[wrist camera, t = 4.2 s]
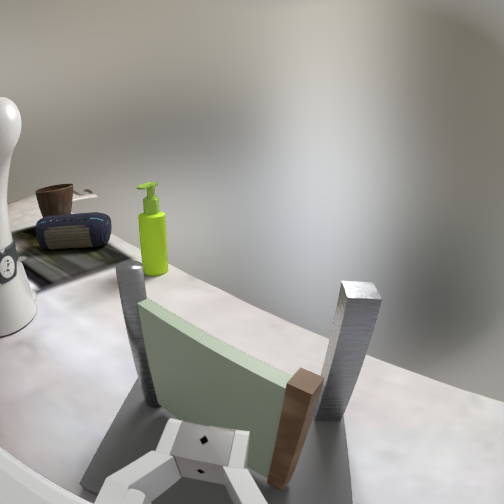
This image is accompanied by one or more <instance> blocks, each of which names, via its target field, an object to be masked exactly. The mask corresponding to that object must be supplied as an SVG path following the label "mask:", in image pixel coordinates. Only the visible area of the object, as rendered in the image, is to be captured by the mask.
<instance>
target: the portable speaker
mask: <svg viewBox="0 0 504 504" xmlns="http://www.w3.org/2000/svg"><path fill="white" fill-rule="evenodd" d="M110 235H111V220H110V217H109V216H108V215H106V214H103V213H98V212H94V213H82V214H81V213H80V214H68V215H56V216H47V217H44V218H42V219H40V220H39V221H38V222H37V224H36V237H37V241H38V243H39V245H40V246H41V247H42V248H44V249H67V248H87V247H100V246H103V245H105V244H106V243H107V242H108V241H109V238H110Z"/></svg>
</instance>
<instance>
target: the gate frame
mask: <svg viewBox="0 0 504 504" xmlns="http://www.w3.org/2000/svg"><path fill="white" fill-rule="evenodd" d="M116 273H117V280H118V286H119V292H120V298H121V304H122V309H123V314H124V319H125V324H126V329H127V333H128V338H129V342H130V347H131V351H132V355H133V359H134V363H135V367H136V371H137V374H138V379H137V380H136V382H135V384H134V386H133V387H132V389H131V391H130V393H129V394H128V396H127V398H126V400H125V401H124V403H123V405H122V407H121V408H120V410H119V412H118V414H117V415H116V417H115V419H114V421H113V423H112V424H111V426H110V428H109V430H108V432H107V433H106V435H105V437H104V439H103V441H102V442H101V444H100V446H99V448H98V450H97V452H96V454H95V455H94V457H93V459H92V461H91V463H90V465H89V467H88V468H87V470H86V472H85V474H84V476H83V478H82V480H81V482H80V485H81V486H82V487H83V488H84V489H85V490H87V491H90V492H92V493H94V494H96V495H98V494H99V492H100V490H101V488H102V486H103V484H104V482H105V480H106V478H107V477H109V476H110V475H112V474H114V473H115V472H117V471H119V470H121V469H122V468H124V467H126V466H127V465H129V464H131V463H132V462H134V461H136V460H137V459H139V458H140V457H142V456H144V455H145V454H147V453H148V452H150V451H156V448H157V446H158V443H159V441H160V439H161V436H162V434H163V431H164V429H165V426H166V424H167V422H168V420H169V419H170V418H172V419H177V418H176V417H175V416H173V415H172V414H171V413H169V412H168V411H167V410H166V409H165V408H163V407H162V406H161V405H160V404H159V403H158V400H157V396H156V392H155V388H154V384H153V380H152V376H151V372H150V367H149V363H148V358H147V353H146V349H145V344H144V339H143V333H142V328H141V322H140V317H139V311H138V305H137V303H139V302H141V301H143V300H146V299H147V297H146V289H145V281H144V273H143V264H142V263H141V262H138V261H126V262H122V263H120V264H118V265H117V266H116ZM381 301H382V298H381V296H380V295H379V293H378V291H377V289H376V287H375V285H374V284H373V283H367V282H352V281H342V282H341V287H340V293H339V298H338V303H337V308H336V313H335V318H334V323H333V327H332V331H331V336H330V340H329V344H328V349H327V353H326V357H325V361H324V365H323V369H322V373H321V376H322V377H324V382H323V386H322V389H321V393H320V396H319V399H318V403H317V406H316V409H315V412H314V416H313V419H312V422H311V425H310V428H309V431H308V434H307V437H306V440H305V443H304V446H303V449H302V451H301V454H300V457H299V460H298V463H297V465H296V468H295V471H294V473H293V476H292V478H291V480H290V481H289V483H288V484H287V485H286V486H285V488H284V489H283V490H282V491H280V490H278V489H276V488H274V487H272V486H270V485H269V484H267V478H266V477H264V476H262V475H260V474H258V473H257V472H255V471H253V470H252V469H250V468H248V467H247V466H246V469H248V470H249V472H250V474H251V476H252V478H253V479H254V481H255V483H256V485H257V486H258V488H259V490H260V491H261V493H262V495H263V497H264V498H265V500H266V501H267V503H268V504H352V490H351V479H350V468H349V459H348V449H347V441H346V432H345V425H344V417H343V414H344V412H345V409H346V407H347V405H348V402H349V400H350V397H351V394H352V392H353V389H354V387H355V384H356V381H357V378H358V376H359V373H360V370H361V367H362V364H363V361H364V358H365V355H366V352H367V349H368V346H369V343H370V340H371V336H372V333H373V330H374V327H375V323H376V320H377V316H378V313H379V308H380V305H381ZM177 420H178V419H177ZM151 503H152V504H233V502H232V500H231V498H230V495H229V493H228V491H227V489H226V487H225V485H223V484H218V483H213V482H208V481H203V480H197V479H192V478H187V477H182V476H181V478H180V479H179V480H178V481H177V482H175V483H174V484H173V485H172V486H171V487H169V488H168V489H167V490H166V491H164V492H163V493H162V494H161V495H159V496H158V497H157V498H155V499H154V500H153V501H152V502H151Z"/></svg>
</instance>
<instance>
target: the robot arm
mask: <svg viewBox="0 0 504 504" xmlns="http://www.w3.org/2000/svg"><path fill="white" fill-rule="evenodd" d="M20 131H21V116H20V113H19V110H18V108H17V106H16V105H15V104H14V103H13V102H12V101H11V100H9V99H8V98H5V97H0V336H5V335H8V334H11V333H13V332H16V331H17V330H19V329H21V328H23V327H24V326H25V325H27V324H28V323H29V322H30V321H31V320H32V319H33V317H34V316H35V314H36V312H37V305H36V303H35V300H36V293H35V291H32V290H31V288H30V285H29V282H28V279H27V276H26V274H25V271H24V268H23V265H22V263H21V262H19V261H18V253H17V246H16V244H15V240H14V239H13V238H12V234H11V228H10V221H9V214H8V205H7V184H8V175H9V167H10V161H11V155H12V152H13V149H14V147H15V145H16V143H17V141H18V139H19V136H20ZM249 440H250V431H243V430H236V429H229V428H221V427H214V426H206V425H201V424H195V423H190V422H185V421H181V420H177V419H172V418H170V419H169V420H168V422H167V424H166V426H165V429H164V431H163V434H162V436H161V439H160V441H159V443H158V446H157V448H156V451H150V452H148V453H147V454H145V455H144V456H142V457H140V458H139V459H137V460H136V461H134V462H132V463H131V464H129V465H127V466H126V467H124V468H122V469H121V470H119V471H117V472H115V473H114V474H112V475H110V476H109V477H107V478H106V480H105V482H104V484H103V486H102V488H101V490H100V492H99V494H98V496H97V498H96V500H95V502H94V504H152V503H151V502H152V501H153V500H154V499H155V498H157V497H158V496H159V495H161V494H162V493H163V492H164V491H166V490H167V489H168V488H169V487H171V486H172V485H173V484H174V483H175V482H177V481H178V480H179V479H180V478H181V476H182V477H187V478H192V479H197V480H203V481H208V482H213V483H218V484H223V485H225V487H226V489H227V491H228V493H229V495H230V498H231V500H232V502H233V504H268V503H267V501H266V500H265V498H264V497H263V495H262V493H261V491H260V490H259V488H258V486H257V485H256V483H255V481H254V479H253V478H252V476H251V474H250V472H249V470H248V469H246V466H247V460H248V451H249ZM0 504H93V503H91V502H89V501H87V500H85V499H82V498H80V497H78V496H76V495H74V494H73V493H71V492H69V491H67V490H65V489H63V488H61V487H60V486H58V485H56V484H54V483H53V482H51V481H49V480H47V479H46V478H44V477H43V476H41V475H39V474H38V473H36V472H35V471H33V470H31V469H30V468H28V467H27V466H25V465H24V464H23V463H21V462H20V461H18V460H17V459H15V458H14V457H13V456H11V455H10V454H9V453H7V452H6V451H5V450H3V449H2V448H1V447H0Z"/></svg>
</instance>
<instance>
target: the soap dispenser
mask: <svg viewBox="0 0 504 504" xmlns="http://www.w3.org/2000/svg"><path fill="white" fill-rule="evenodd" d="M156 185H158V183H155V182H149V183H143V184H141V185H139V186H138V187H137V189H146V188H147V197H145V198H144V199H143V203H144V204H143V205H144V213H141V214H139V216H138V218H139V233H140V244H141V256H142V264H143V272H144V274H146V275H149V276H158V275H162V274H165V273H166V272H167V271H168V260H167V245H166V224H165V213H164V212H160V211H159V198H158V197H156V196H155V186H156Z"/></svg>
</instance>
